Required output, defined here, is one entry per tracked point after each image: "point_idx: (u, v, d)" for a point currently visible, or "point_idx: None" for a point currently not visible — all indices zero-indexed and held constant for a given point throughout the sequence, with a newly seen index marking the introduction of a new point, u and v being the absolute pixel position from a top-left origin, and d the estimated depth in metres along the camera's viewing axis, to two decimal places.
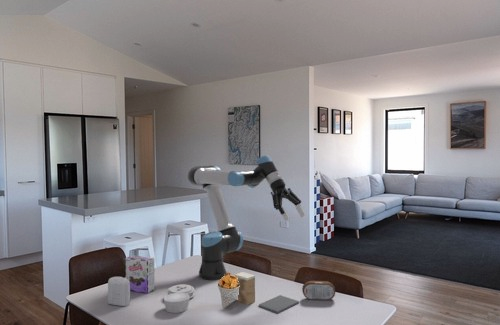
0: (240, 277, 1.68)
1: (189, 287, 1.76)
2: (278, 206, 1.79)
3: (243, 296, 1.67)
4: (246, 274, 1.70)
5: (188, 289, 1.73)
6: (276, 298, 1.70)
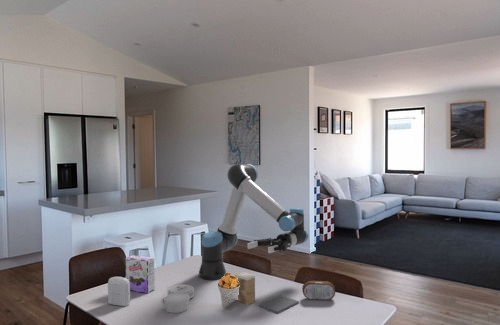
0: (240, 277, 1.68)
1: (189, 287, 1.76)
2: (282, 249, 1.75)
3: (243, 296, 1.67)
4: (246, 274, 1.70)
5: (188, 289, 1.73)
6: (276, 298, 1.70)
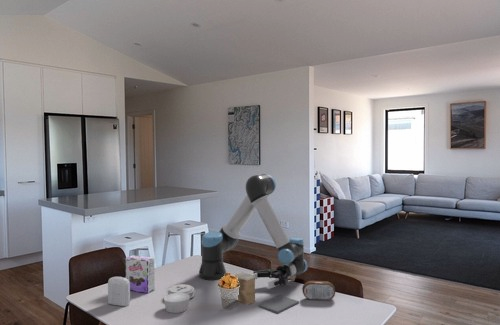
0: (240, 277, 1.68)
1: (189, 287, 1.76)
2: None
3: (243, 296, 1.67)
4: (246, 274, 1.70)
5: (188, 289, 1.73)
6: (276, 298, 1.70)
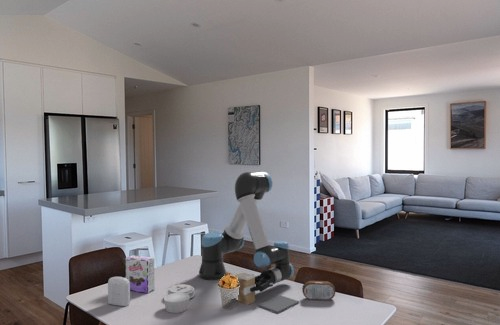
0: (240, 277, 1.68)
1: (189, 287, 1.76)
2: (259, 290, 1.67)
3: (243, 296, 1.67)
4: (246, 274, 1.70)
5: (188, 289, 1.73)
6: (276, 298, 1.70)
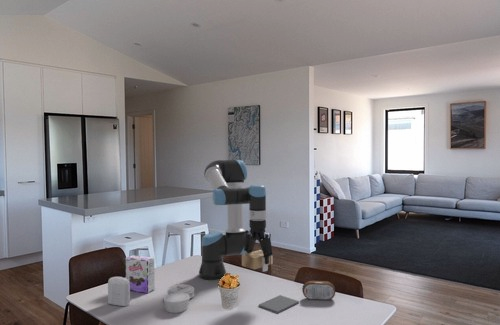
0: None
1: (189, 287, 1.76)
2: (246, 251, 1.72)
3: None
4: None
5: (188, 289, 1.73)
6: (276, 298, 1.70)
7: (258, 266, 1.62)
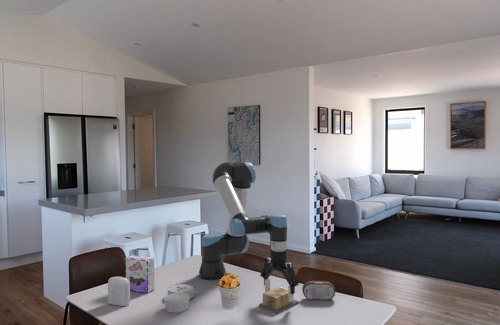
0: None
1: (189, 287, 1.76)
2: (262, 276, 1.70)
3: None
4: None
5: (188, 289, 1.73)
6: None
7: (280, 306, 1.59)
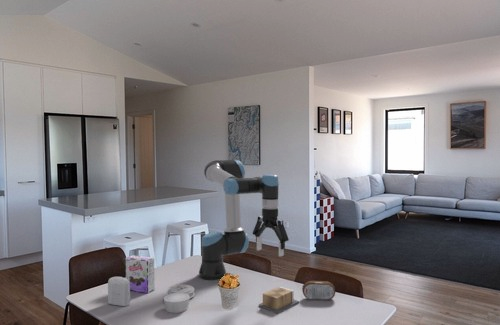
0: None
1: (189, 287, 1.76)
2: (254, 234, 1.78)
3: None
4: None
5: (188, 289, 1.73)
6: None
7: (280, 306, 1.59)
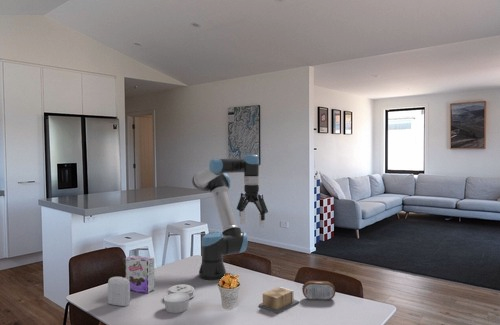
0: None
1: (189, 287, 1.76)
2: (238, 209, 1.97)
3: None
4: None
5: (188, 289, 1.73)
6: None
7: (280, 306, 1.59)
